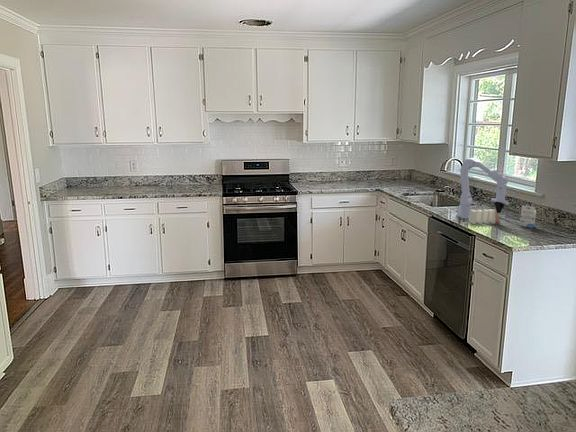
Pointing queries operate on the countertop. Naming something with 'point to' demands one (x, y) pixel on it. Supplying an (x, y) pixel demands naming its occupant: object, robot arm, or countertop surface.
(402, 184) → the countertop surface
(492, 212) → the cream domino
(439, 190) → the countertop surface
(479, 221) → the cream domino
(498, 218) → the terracotta domino
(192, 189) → the countertop surface
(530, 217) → the ink box
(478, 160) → the robot arm
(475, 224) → the mat
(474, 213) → the cream domino
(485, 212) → the cream domino
